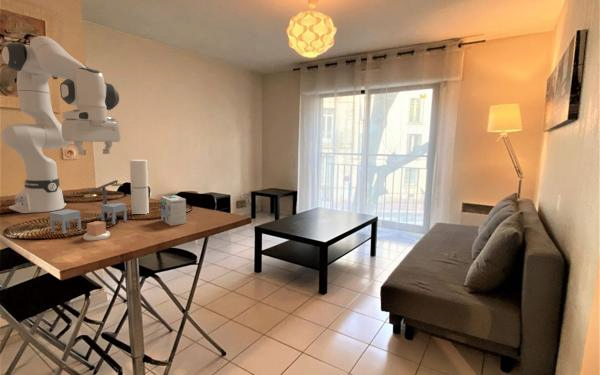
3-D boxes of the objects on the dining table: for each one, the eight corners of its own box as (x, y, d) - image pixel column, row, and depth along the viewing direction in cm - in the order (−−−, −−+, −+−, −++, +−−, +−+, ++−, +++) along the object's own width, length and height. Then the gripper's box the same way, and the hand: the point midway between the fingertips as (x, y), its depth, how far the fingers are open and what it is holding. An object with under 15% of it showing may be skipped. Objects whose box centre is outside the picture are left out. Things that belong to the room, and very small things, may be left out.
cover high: (101, 222, 129) (100, 205, 128) (115, 219, 135) (114, 202, 134) (113, 224, 127) (112, 206, 126) (126, 220, 133) (126, 203, 132)
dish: (77, 238, 109) (77, 235, 109) (98, 232, 117) (98, 229, 117) (95, 241, 107) (95, 238, 107) (115, 235, 114) (115, 232, 114)
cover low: (68, 228, 120) (67, 209, 119) (81, 230, 118) (80, 211, 117) (51, 232, 114) (49, 212, 113) (63, 235, 112) (62, 214, 111)
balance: (81, 222, 128) (79, 183, 125) (117, 213, 144) (115, 179, 141) (92, 224, 126) (90, 185, 124) (127, 215, 142) (126, 180, 140)
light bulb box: (160, 220, 137) (160, 196, 135) (176, 218, 141) (175, 194, 140) (171, 226, 129) (170, 200, 128) (186, 223, 134) (186, 198, 132)
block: (87, 234, 110) (86, 223, 110) (97, 231, 114) (97, 220, 114) (96, 236, 109) (95, 225, 109) (106, 233, 113) (105, 222, 112)
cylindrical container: (141, 215, 143) (140, 161, 139) (128, 214, 144) (126, 160, 140) (152, 212, 150) (150, 160, 146) (139, 210, 151) (137, 159, 147)
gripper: (111, 117, 122) (112, 153, 124) (56, 112, 103) (60, 154, 105) (123, 117, 120) (125, 153, 122) (70, 113, 101) (73, 156, 103)
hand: (94, 154), depth 113 cm, fingers open, 8 cm apart
